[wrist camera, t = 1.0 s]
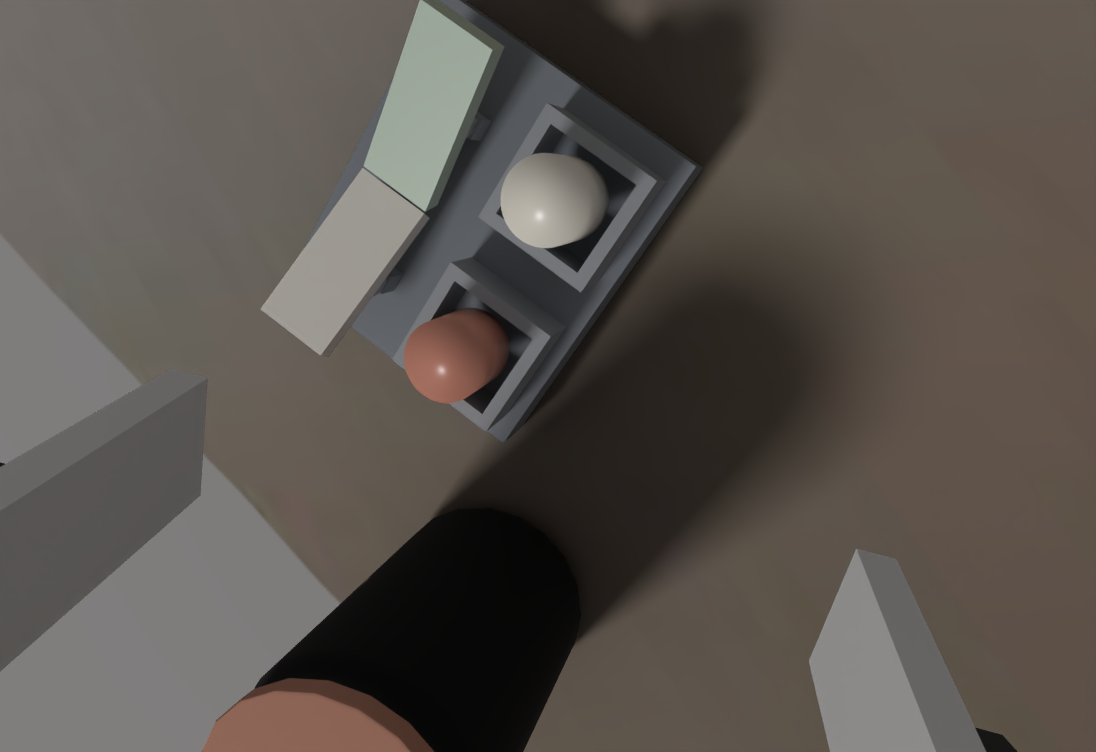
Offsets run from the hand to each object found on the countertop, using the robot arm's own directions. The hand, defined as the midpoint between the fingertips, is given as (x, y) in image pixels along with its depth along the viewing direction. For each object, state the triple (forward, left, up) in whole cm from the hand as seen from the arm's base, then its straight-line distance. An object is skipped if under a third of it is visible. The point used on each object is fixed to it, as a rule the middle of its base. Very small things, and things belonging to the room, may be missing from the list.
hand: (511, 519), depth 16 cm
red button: (+7, +6, -20) cm, 22 cm away
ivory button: (+7, -2, -20) cm, 21 cm away
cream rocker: (+14, +6, -20) cm, 25 cm away
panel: (+10, +2, -25) cm, 27 cm away
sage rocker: (+14, -2, -20) cm, 24 cm away
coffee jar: (-1, +19, -25) cm, 31 cm away
